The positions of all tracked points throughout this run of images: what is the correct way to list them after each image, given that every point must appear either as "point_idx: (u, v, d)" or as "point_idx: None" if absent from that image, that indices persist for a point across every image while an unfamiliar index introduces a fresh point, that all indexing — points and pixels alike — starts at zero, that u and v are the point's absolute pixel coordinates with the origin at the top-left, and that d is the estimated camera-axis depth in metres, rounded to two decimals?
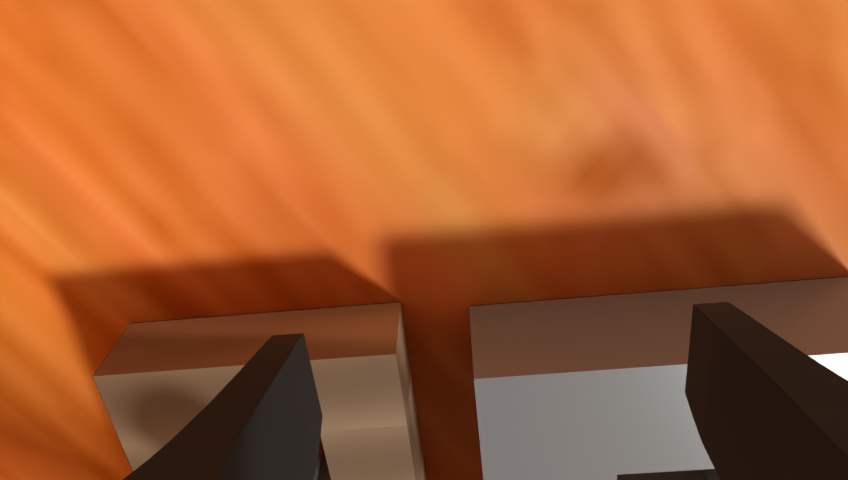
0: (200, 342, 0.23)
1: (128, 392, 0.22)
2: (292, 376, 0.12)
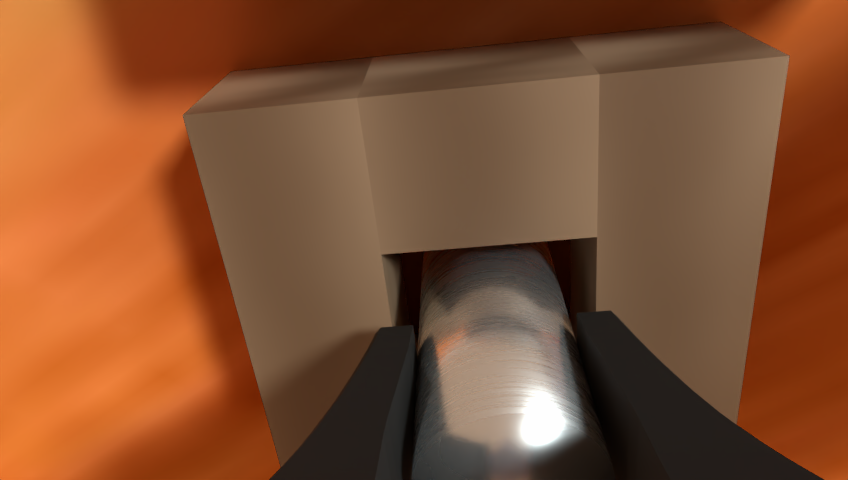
0: None
1: None
2: (410, 368, 0.11)
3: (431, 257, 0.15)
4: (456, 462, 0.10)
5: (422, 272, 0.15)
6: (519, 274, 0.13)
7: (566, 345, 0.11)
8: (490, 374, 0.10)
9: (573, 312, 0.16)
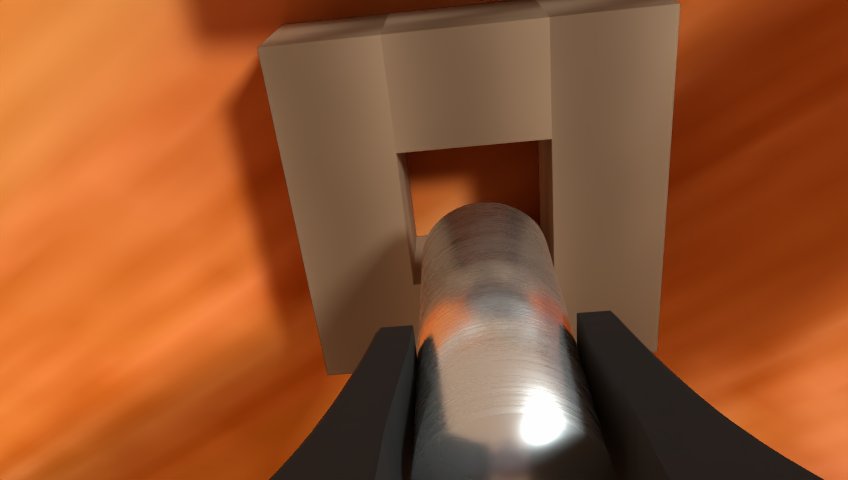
0: None
1: (347, 348, 0.20)
2: (410, 368, 0.11)
3: (431, 257, 0.15)
4: (456, 462, 0.10)
5: (422, 272, 0.15)
6: (519, 274, 0.13)
7: (565, 345, 0.11)
8: (489, 374, 0.10)
9: (541, 215, 0.21)
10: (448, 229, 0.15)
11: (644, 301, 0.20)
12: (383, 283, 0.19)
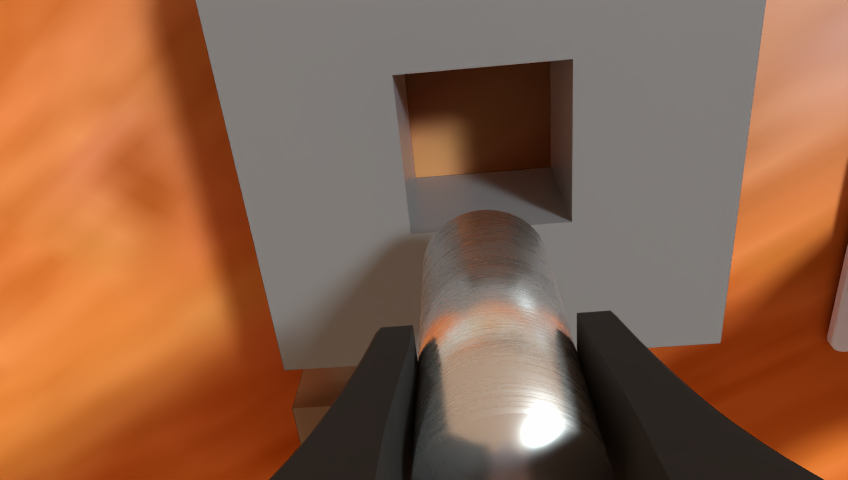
0: None
1: None
2: (410, 368, 0.11)
3: (432, 263, 0.15)
4: (456, 462, 0.10)
5: (423, 278, 0.15)
6: (520, 279, 0.13)
7: (565, 350, 0.11)
8: (491, 375, 0.10)
9: None
10: (449, 236, 0.15)
11: None
12: None
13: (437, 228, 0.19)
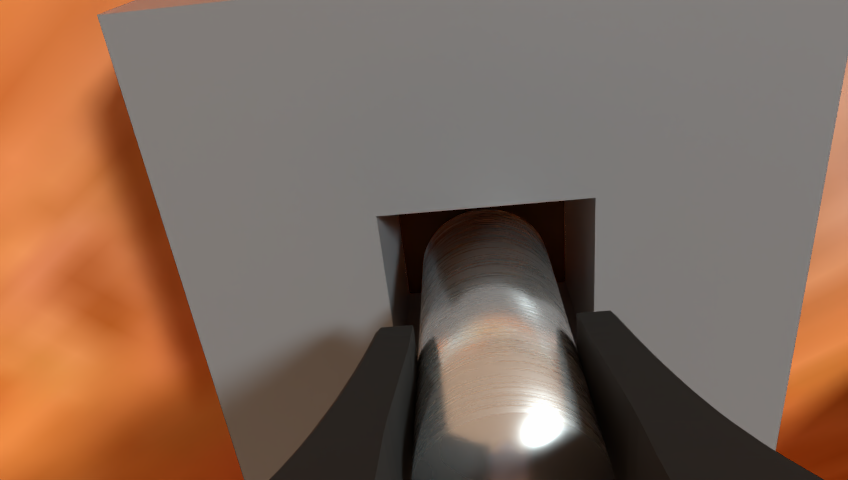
0: None
1: None
2: (410, 368, 0.11)
3: (432, 262, 0.15)
4: (456, 462, 0.10)
5: (423, 277, 0.15)
6: (520, 278, 0.13)
7: (566, 349, 0.11)
8: (491, 375, 0.10)
9: None
10: (449, 235, 0.15)
11: None
12: None
13: None
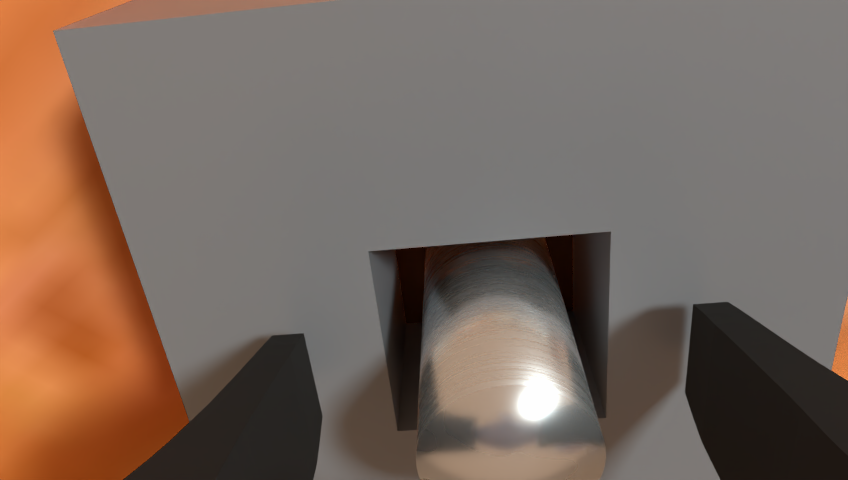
0: None
1: None
2: (292, 376, 0.12)
3: (434, 247, 0.15)
4: (458, 431, 0.10)
5: (425, 261, 0.16)
6: (518, 262, 0.14)
7: (561, 327, 0.12)
8: (491, 350, 0.11)
9: None
10: None
11: None
12: None
13: None
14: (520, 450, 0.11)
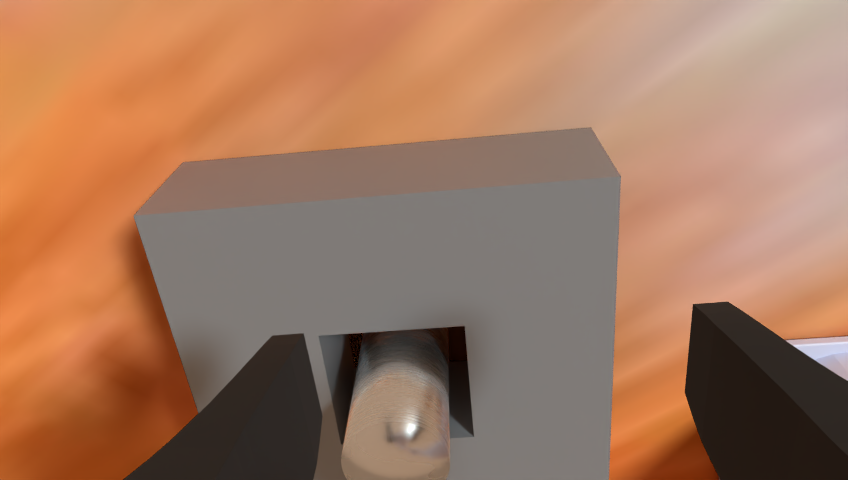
0: None
1: None
2: (292, 376, 0.12)
3: None
4: (364, 446, 0.18)
5: None
6: (415, 338, 0.21)
7: (434, 383, 0.20)
8: (385, 400, 0.19)
9: None
10: None
11: None
12: None
13: None
14: (400, 458, 0.19)
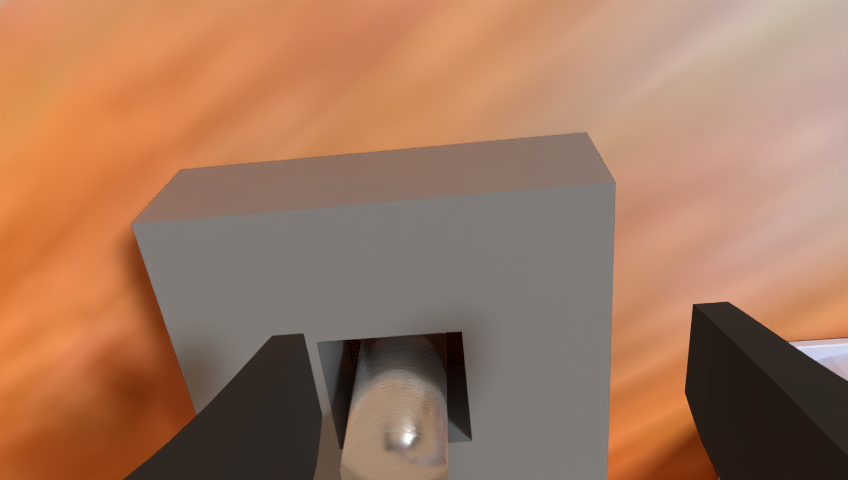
0: None
1: None
2: (292, 376, 0.12)
3: None
4: (363, 457, 0.19)
5: None
6: (414, 345, 0.22)
7: (432, 392, 0.20)
8: (384, 409, 0.19)
9: None
10: None
11: None
12: None
13: None
14: (399, 467, 0.19)
